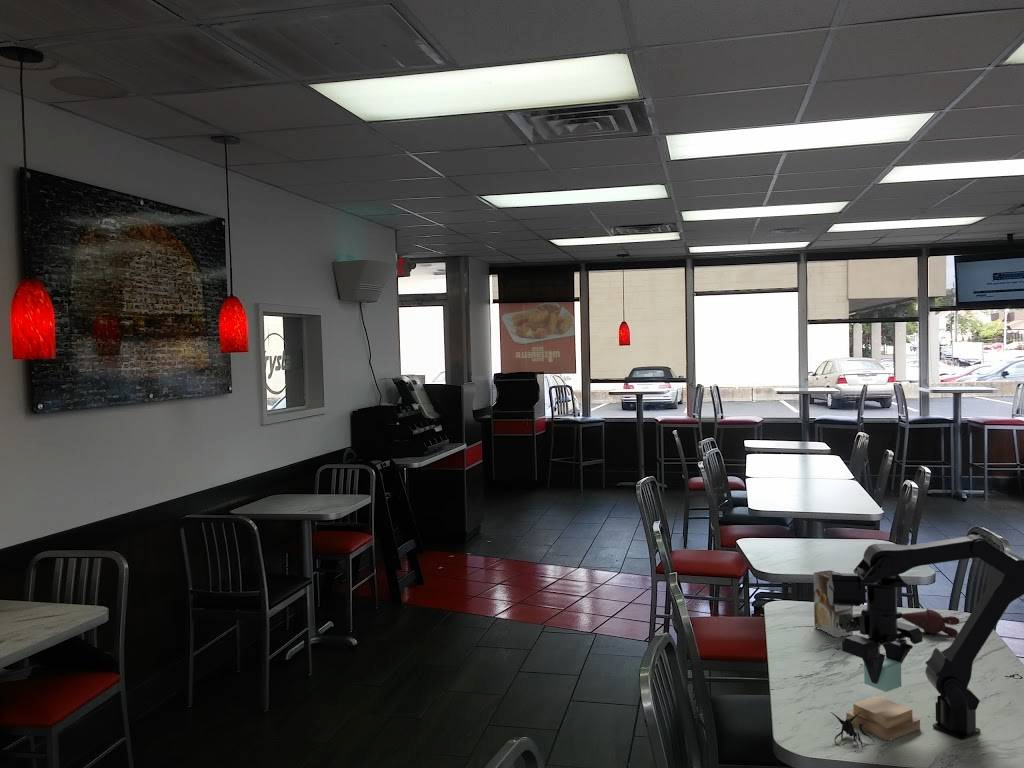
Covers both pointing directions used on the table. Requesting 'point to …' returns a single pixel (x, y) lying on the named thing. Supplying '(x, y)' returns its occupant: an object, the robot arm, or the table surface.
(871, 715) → the plinth
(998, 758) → the table surface
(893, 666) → the teal block
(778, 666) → the table surface
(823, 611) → the coffee box
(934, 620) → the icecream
